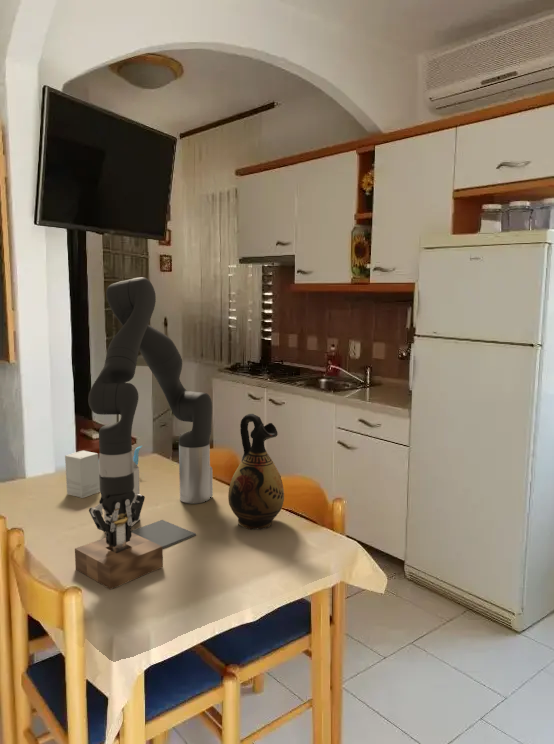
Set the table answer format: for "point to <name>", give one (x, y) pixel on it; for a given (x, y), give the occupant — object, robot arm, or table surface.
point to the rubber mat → (163, 533)
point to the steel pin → (120, 534)
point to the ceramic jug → (256, 479)
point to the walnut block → (118, 560)
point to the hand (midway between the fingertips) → (119, 542)
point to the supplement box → (82, 474)
